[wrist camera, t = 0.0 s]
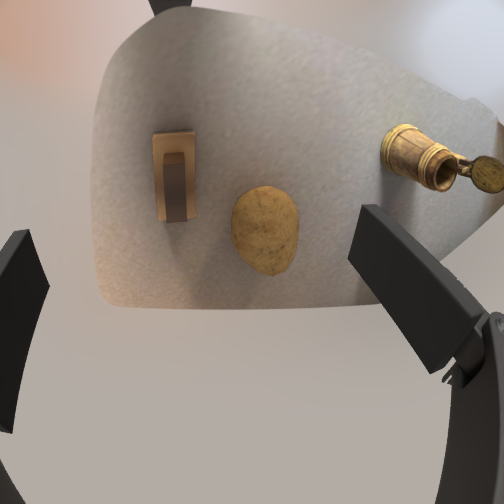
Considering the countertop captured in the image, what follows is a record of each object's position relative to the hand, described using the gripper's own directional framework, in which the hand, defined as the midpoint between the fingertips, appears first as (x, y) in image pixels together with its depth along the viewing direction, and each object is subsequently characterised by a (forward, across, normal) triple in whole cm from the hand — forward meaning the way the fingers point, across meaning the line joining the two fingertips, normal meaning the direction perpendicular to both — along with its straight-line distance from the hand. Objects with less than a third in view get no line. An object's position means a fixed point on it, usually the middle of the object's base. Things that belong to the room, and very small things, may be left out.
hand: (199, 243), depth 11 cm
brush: (+29, -1, -7) cm, 30 cm away
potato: (+29, +11, -15) cm, 35 cm away
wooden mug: (+29, +37, -2) cm, 47 cm away
